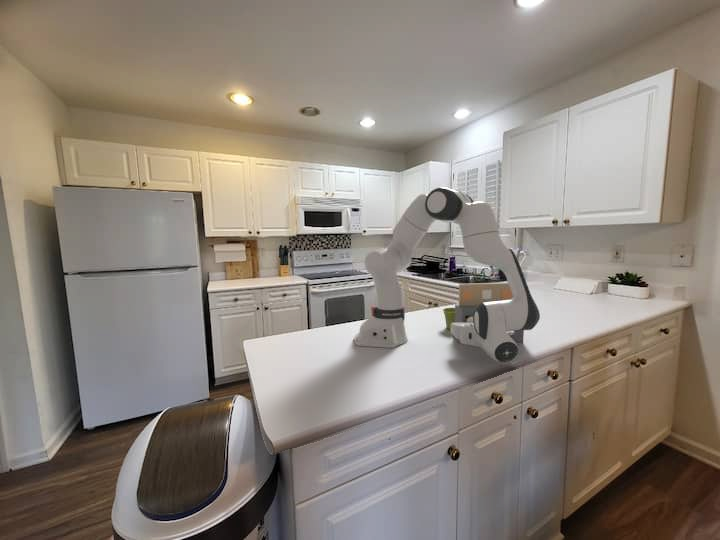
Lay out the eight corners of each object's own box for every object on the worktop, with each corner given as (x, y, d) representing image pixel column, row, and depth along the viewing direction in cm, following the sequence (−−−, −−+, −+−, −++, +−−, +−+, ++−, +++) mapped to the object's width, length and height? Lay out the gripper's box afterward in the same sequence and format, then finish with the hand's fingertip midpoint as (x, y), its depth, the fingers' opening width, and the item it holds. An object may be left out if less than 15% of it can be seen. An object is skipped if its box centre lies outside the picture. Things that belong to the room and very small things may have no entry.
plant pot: (440, 330, 135) (440, 311, 134) (445, 324, 144) (445, 306, 143) (462, 332, 131) (462, 313, 130) (465, 326, 139) (465, 308, 138)
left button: (467, 328, 116) (467, 317, 115) (464, 325, 120) (464, 314, 119) (478, 328, 116) (478, 317, 115) (475, 325, 119) (475, 314, 119)
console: (461, 344, 118) (462, 287, 115) (454, 335, 128) (455, 283, 125) (523, 343, 117) (525, 286, 114) (511, 334, 126) (513, 281, 124)
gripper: (517, 325, 101) (499, 314, 115) (456, 326, 102) (446, 315, 116) (516, 343, 102) (499, 330, 116) (456, 343, 103) (446, 330, 116)
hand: (472, 322), depth 116 cm, fingers closed, pressing on left button
